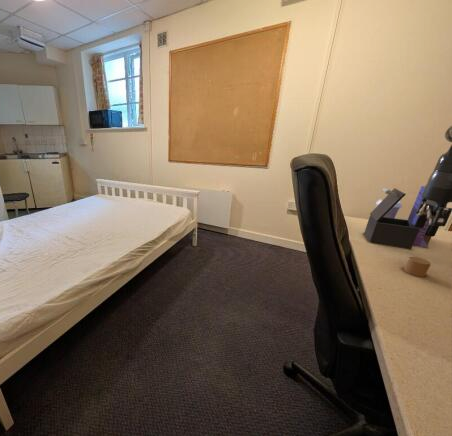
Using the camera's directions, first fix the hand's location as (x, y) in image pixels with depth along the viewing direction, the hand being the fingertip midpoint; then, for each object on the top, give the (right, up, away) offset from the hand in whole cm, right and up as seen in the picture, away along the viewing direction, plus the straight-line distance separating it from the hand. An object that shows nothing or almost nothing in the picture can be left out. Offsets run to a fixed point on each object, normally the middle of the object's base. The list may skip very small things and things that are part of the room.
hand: (423, 231), depth 77 cm
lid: (+10, +11, +22) cm, 26 cm away
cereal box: (+28, -6, +27) cm, 39 cm away
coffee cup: (+25, -1, +40) cm, 47 cm away
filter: (-1, -15, +2) cm, 15 cm away
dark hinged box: (+13, -6, +26) cm, 30 cm away
